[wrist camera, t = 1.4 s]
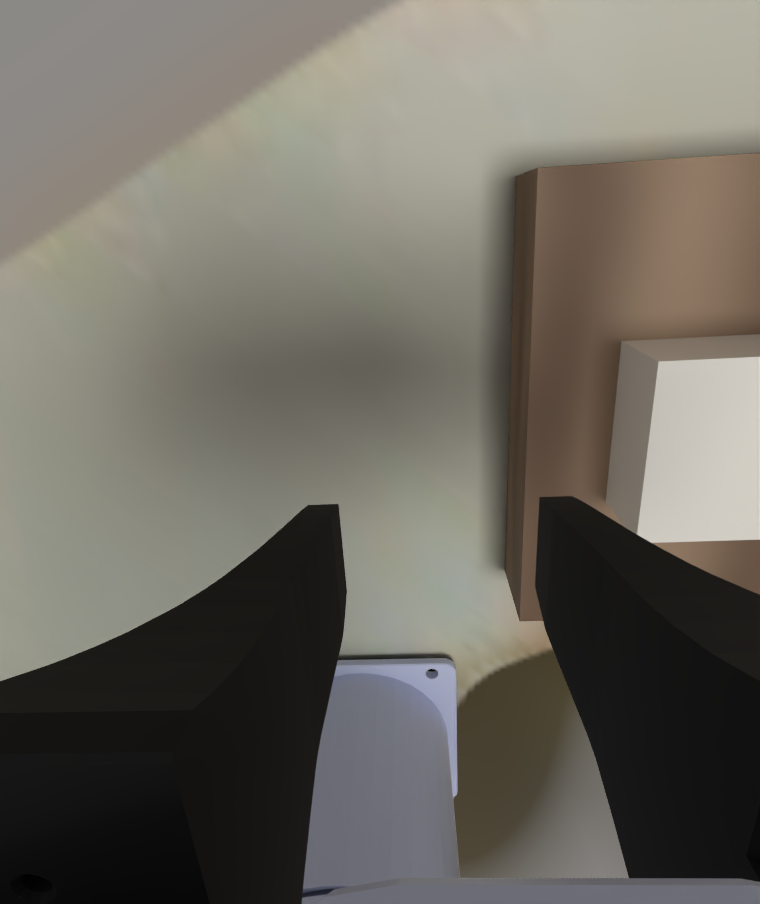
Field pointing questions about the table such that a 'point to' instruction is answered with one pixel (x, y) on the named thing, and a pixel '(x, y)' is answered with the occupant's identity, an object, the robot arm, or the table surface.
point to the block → (687, 439)
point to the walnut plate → (617, 323)
